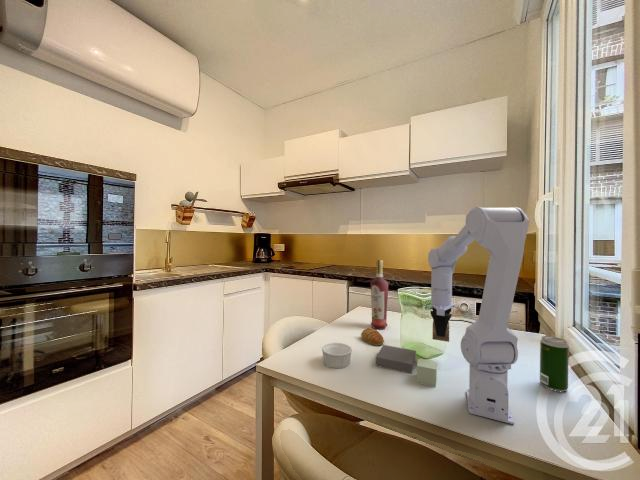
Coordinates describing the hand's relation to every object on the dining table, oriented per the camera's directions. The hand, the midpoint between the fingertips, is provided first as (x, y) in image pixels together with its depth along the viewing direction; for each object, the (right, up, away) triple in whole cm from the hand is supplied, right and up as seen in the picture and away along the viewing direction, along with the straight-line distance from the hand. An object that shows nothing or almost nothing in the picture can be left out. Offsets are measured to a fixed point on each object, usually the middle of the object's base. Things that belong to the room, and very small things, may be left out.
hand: (440, 333), depth 81 cm
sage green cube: (-9, -9, -11) cm, 17 cm away
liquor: (-12, -8, +30) cm, 34 cm away
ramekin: (-32, -9, -1) cm, 33 cm away
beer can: (+22, -9, -14) cm, 28 cm away
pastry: (-18, -9, +16) cm, 25 cm away
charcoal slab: (-14, -9, -1) cm, 16 cm away
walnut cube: (0, -1, 0) cm, 1 cm away
